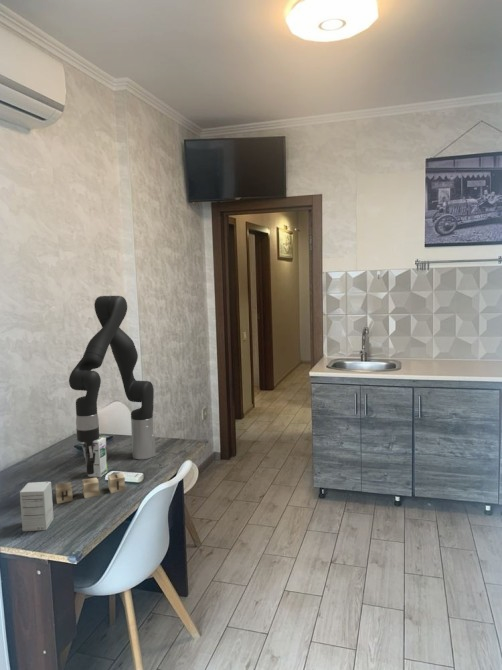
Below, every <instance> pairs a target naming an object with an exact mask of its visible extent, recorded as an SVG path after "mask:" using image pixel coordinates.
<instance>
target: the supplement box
mask: <svg viewBox="0 0 502 670" xmlns="http://www.w3.org/2000/svg"><path fill="white" fill-rule="evenodd" d="M19 500H20V501H19V504H20V516H21V527H22V528H21V529H22V530H21V531H22V532H31V531H32V532H33V531H35V532H36V531H47V530H48V528H49V526H50V525H51V524H52V522H53V520H54V509H53V507H54V505H53V492H52V482H51V481H37V482H33V481H32V482H27V483H26V484H25V486H23V487H22V489H21V490H19Z"/></svg>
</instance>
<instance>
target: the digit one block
mask: <svg viewBox="0 0 502 670" xmlns="http://www.w3.org/2000/svg"><path fill="white" fill-rule="evenodd" d="M125 480H126V479H125V476H124V474H123V472H119V473H118V472H117V473H112V474H108V475H107V481H108V483H107V485H108V490H109V493H110V494H114V493H115V494H116V493H120V492H125V491H126V485H125V484H126V481H125ZM124 490H125V491H124Z"/></svg>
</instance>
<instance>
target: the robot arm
mask: <svg viewBox="0 0 502 670" xmlns="http://www.w3.org/2000/svg"><path fill="white" fill-rule="evenodd" d="M93 307H94V312H95V315H96V318H97V319H98V322H99V323H100V325H101V329H100V330H98V331H97V332H96V333H95V334H94V335H93V336H92V338H91V339H90V340H89V342H88V343H87V345H86V348H85V351H84V353H83V356H82V358H81V359H80V360H79V361H78V362H77V364H76V365H75V367H74V368H73V369H72V371H71V372H70V375H69V378H68V384H69V387H70V388H71V389H72V390H74V391H84V392H85V391H86V394H85V396H80V397H78V398H76V400H75V412H76V413H75V414H76V415H75V416H76V417H75V426H76V429H75V430H76V440H77V441H78V442H79V443H83V444H82V445H81V446H82V450H83V457H84V460H85V464H86V473H87V476H88V475H90V474H93V473H94V466H93V464H94V463H95V445H94V443H93V441H95V440H97V439H99V437H100V423H99V420H100V419H99V415H98V398H99V391H100V387H101V384H102V380H101V379H102V378H101V376H100V374H99V373H98V371H96V370H95V369H99V368H101V366H102V365H103V363H104V360H105V356H106V353H107V352H108V348H109V346H110V350H111V352H112V355H113V358H114V360H115V362H116V364H117V368H118V371H119V374H120V378H121V381H122V385H123V389H124V393H125V396H126V398H127V400H128V401H129V402H132V403H141V407H138V408H136V409H133V410H132V411H131V412H130V421H131V422H130V425H131V427H130V428H131V448H132V450H131V451H132V458H133V459H136V460H148V459H151V458H153V457H156V436H155V434H154V399H155V398H154V397H155V396H154V392H155V391H154V385H153V383H152V382H151V381H149V380H137V379H136V378H135V376H134V370H135V367H136V365H137V363H138V357H139V354H138V351H137V348H136V344H135V343H134V341H133V339H132V338H131V337H130V336H129V335H128V334H127V333H126V332H125V331H124V330H123V329H121V325H122V323H123V321H124V319H125V317H126V315H127V311H128V302H127V300H126V298H125V297H124V296H121V295H100V296H97V297H96V298H95V300H94V306H93Z"/></svg>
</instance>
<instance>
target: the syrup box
mask: <svg viewBox="0 0 502 670" xmlns="http://www.w3.org/2000/svg"><path fill="white" fill-rule="evenodd" d="M93 443H94V445H95V463H94V464H93V466H94V473H93V474H90V475H88V474H87V477H90V478H95V477H97V478H102V477H103V476H104V475H105V474H107V473H108V472H109V469H108V468H109V467H108V452H107V451H108V450H107V437H106V436H99V439H97V440H95V441H93Z"/></svg>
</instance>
